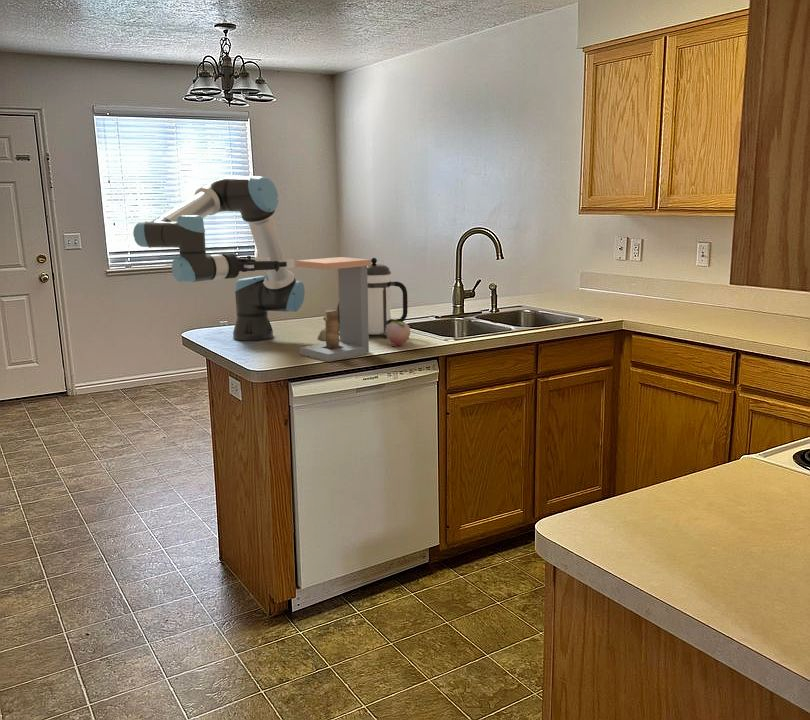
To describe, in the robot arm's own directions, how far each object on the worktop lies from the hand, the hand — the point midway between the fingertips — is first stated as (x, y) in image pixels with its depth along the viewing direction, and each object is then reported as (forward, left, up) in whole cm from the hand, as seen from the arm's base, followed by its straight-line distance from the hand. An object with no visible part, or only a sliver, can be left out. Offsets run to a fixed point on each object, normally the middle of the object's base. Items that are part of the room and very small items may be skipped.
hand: (281, 262), depth 242 cm
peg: (+7, +15, -32) cm, 36 cm away
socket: (+7, +16, -32) cm, 37 cm away
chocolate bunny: (-16, +31, -32) cm, 47 cm away
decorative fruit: (+12, +41, -32) cm, 53 cm away
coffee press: (-8, +49, -32) cm, 59 cm away
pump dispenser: (-22, +45, -32) cm, 59 cm away
